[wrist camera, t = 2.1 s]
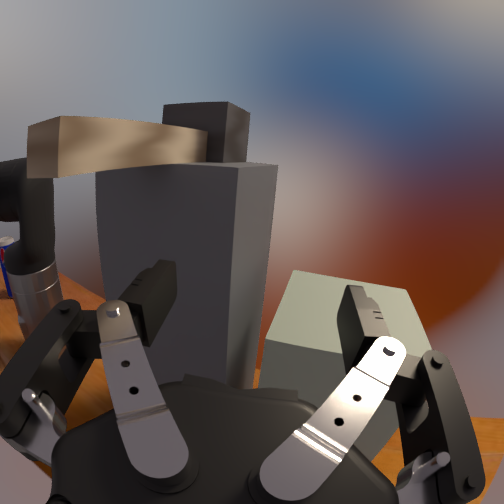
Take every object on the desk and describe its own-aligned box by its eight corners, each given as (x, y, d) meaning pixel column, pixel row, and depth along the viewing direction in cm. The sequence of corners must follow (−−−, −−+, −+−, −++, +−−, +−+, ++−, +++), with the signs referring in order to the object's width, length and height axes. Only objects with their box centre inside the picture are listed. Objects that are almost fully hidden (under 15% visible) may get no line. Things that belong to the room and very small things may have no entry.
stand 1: (223, 459, 27) (238, 167, 16) (139, 425, 30) (95, 163, 19) (251, 396, 38) (278, 165, 27) (178, 374, 40) (172, 157, 30)
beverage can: (10, 301, 48) (-4, 244, 43) (7, 293, 51) (-5, 239, 46) (26, 295, 52) (14, 239, 47) (23, 288, 55) (12, 234, 50)
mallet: (79, 177, 8) (92, 48, 7) (15, 178, 10) (21, 84, 8) (245, 162, 27) (250, 113, 25) (191, 158, 28) (195, 113, 26)
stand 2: (341, 492, 22) (437, 364, 14) (243, 475, 25) (265, 338, 17) (348, 422, 33) (405, 289, 25) (268, 408, 36) (293, 269, 28)
